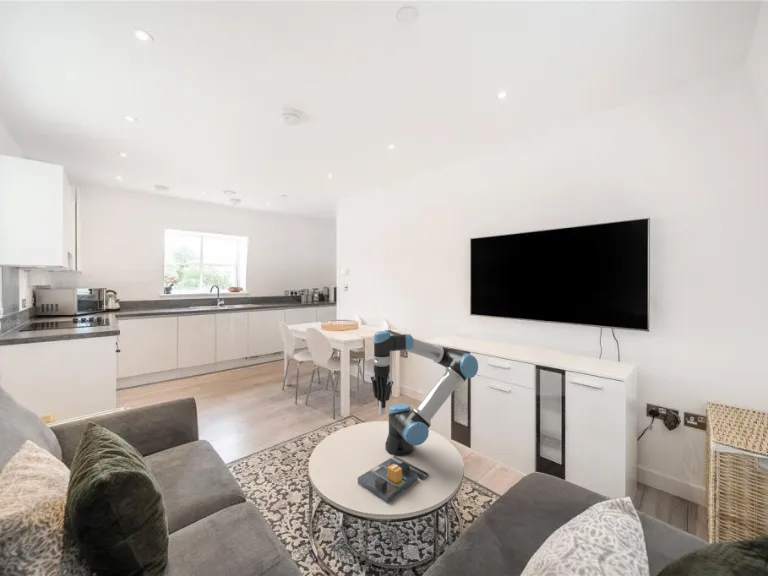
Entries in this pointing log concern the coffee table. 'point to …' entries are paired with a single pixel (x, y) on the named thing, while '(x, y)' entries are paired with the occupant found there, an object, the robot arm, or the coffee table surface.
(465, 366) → the robot arm
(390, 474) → the slider
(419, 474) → the grey cylinders
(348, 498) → the coffee table surface
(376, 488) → the panel
